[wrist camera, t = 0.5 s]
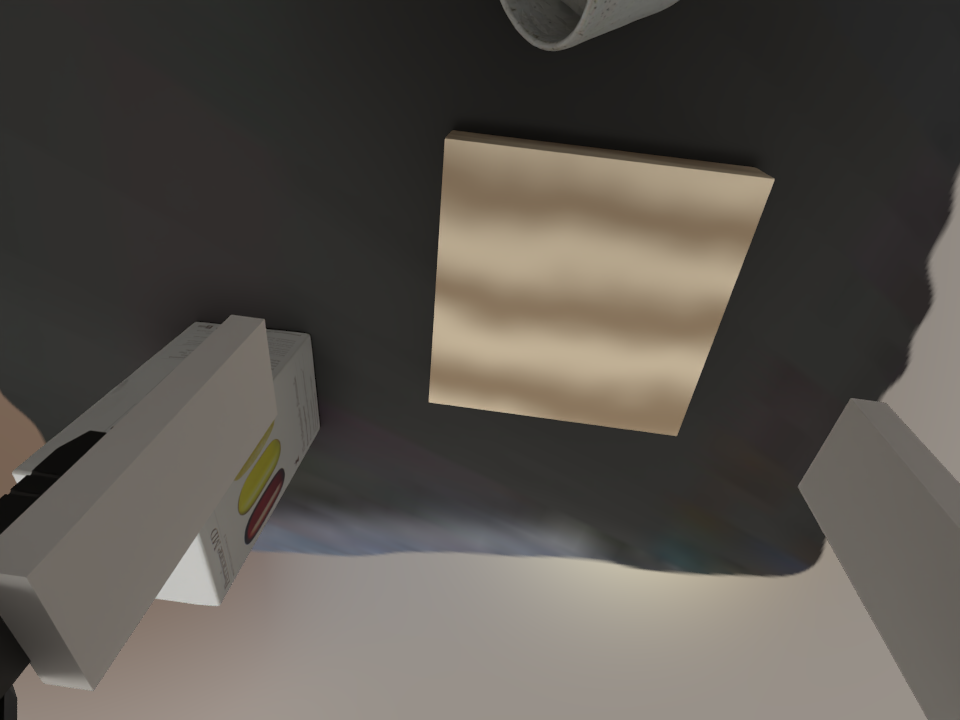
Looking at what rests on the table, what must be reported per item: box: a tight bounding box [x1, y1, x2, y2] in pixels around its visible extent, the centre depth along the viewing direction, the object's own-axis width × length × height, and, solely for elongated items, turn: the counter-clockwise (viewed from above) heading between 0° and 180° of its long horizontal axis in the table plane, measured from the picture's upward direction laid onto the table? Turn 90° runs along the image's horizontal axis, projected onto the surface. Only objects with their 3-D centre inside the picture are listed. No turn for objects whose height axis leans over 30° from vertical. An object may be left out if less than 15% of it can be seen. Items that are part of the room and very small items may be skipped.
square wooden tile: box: [429, 130, 775, 436], centre depth 35 cm, size 18×18×3 cm
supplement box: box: [12, 322, 320, 606], centre depth 35 cm, size 10×9×17 cm
